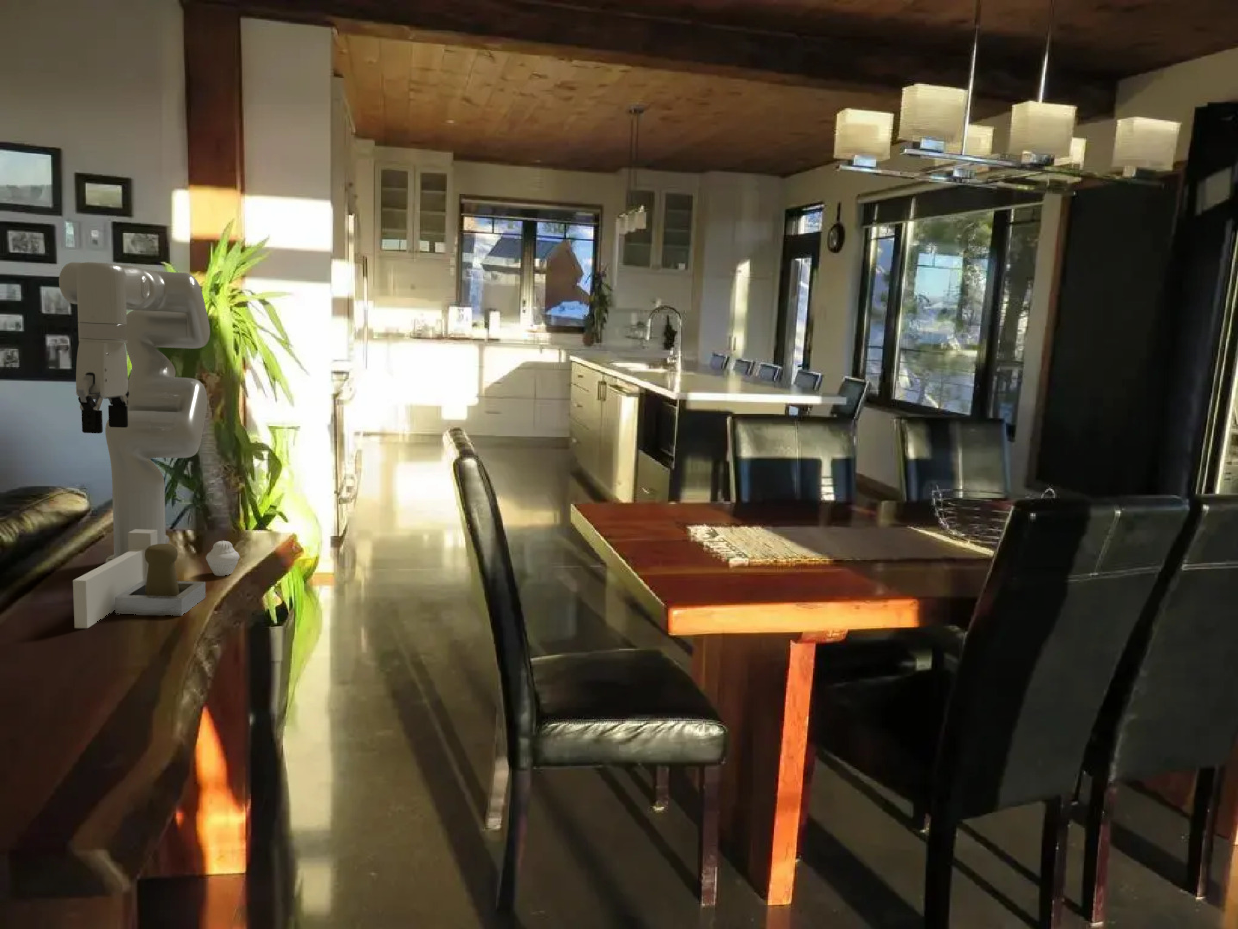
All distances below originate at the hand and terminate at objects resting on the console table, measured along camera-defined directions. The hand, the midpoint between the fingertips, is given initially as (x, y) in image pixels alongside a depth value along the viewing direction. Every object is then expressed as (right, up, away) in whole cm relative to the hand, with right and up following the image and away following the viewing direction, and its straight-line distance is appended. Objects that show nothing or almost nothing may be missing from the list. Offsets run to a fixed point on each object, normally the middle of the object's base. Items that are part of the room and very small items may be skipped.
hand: (105, 429), depth 163 cm
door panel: (+4, -31, -3) cm, 31 cm away
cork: (+11, -32, -1) cm, 33 cm away
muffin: (+12, -29, +20) cm, 37 cm away
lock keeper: (+11, -31, -2) cm, 33 cm away
